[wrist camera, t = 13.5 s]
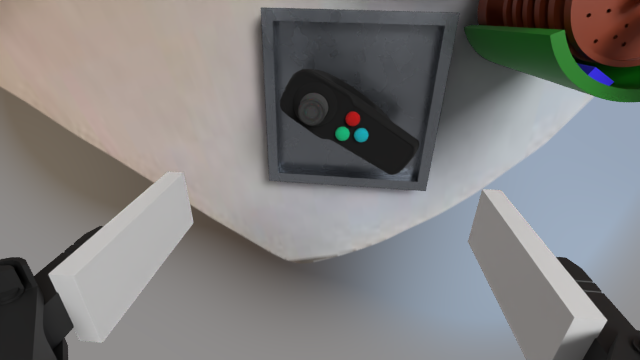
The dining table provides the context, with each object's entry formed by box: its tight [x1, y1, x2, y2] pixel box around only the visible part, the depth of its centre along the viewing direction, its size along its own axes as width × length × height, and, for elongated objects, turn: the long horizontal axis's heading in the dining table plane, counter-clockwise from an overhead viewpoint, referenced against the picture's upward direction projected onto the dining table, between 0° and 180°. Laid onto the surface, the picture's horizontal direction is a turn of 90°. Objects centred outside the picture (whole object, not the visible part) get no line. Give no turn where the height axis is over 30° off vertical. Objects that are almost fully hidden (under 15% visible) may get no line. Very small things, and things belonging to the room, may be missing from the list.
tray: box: [261, 8, 460, 191], centre depth 33 cm, size 17×17×2 cm
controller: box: [280, 69, 419, 175], centre depth 29 cm, size 4×12×10 cm, turn 58°
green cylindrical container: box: [464, 0, 640, 102], centre depth 20 cm, size 10×9×20 cm
